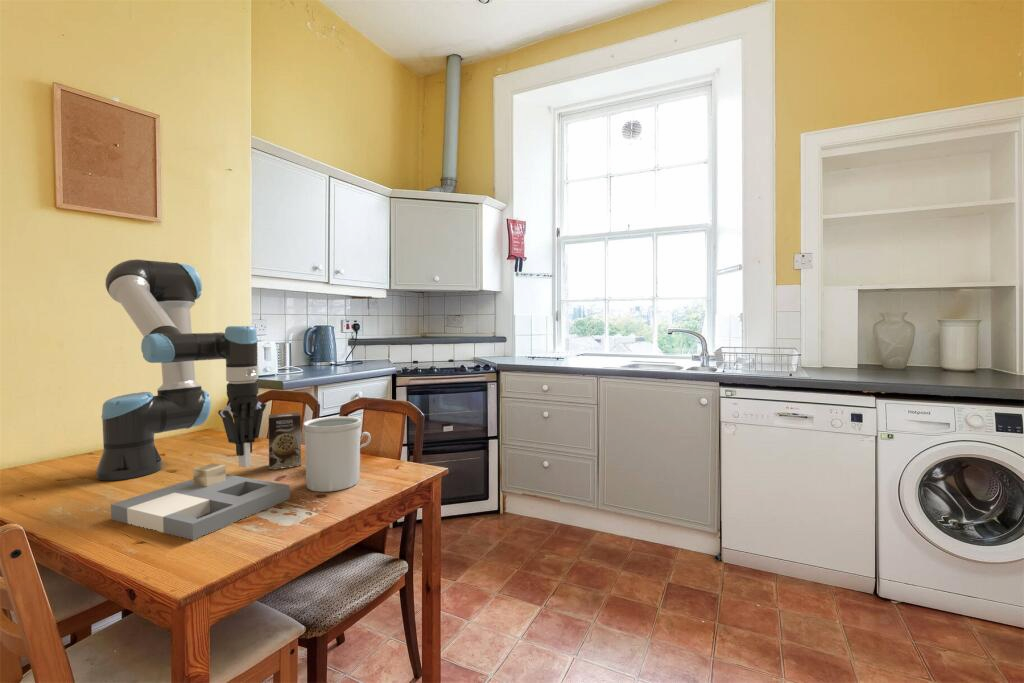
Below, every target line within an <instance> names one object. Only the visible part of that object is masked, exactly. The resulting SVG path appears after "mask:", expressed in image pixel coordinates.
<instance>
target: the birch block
mask: <svg viewBox="0 0 1024 683" xmlns="http://www.w3.org/2000/svg"><path fill="white" fill-rule="evenodd" d="M226 469H227V468H226V465H225V464H218V463H209V464H206V465H203V466H198V467H195V468H193V470H192V471H193V473H192V475H193V476H192V477H193V478H192V479H193V480H194V485H199V486H205V487H208V486H211V485H214V484H217V483H220V482H223V481H226V474H227V473H226Z"/></svg>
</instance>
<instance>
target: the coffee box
mask: <svg viewBox="0 0 1024 683" xmlns="http://www.w3.org/2000/svg"><path fill="white" fill-rule="evenodd" d="M301 422H302V420H301V413H300V412H289V413H286V412H285V413H276V414H275V413H274V414H268V470H269V469H273V470H276V469H275V468H281V467H289V466H297V465H301V466H302V426H301V425H302V423H301ZM297 467H298V466H297ZM289 468H290V467H289ZM281 469H282V468H281Z"/></svg>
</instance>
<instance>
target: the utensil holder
mask: <svg viewBox="0 0 1024 683" xmlns="http://www.w3.org/2000/svg"><path fill="white" fill-rule="evenodd" d="M302 425H303V430H304V446H305V447H304V452H305V478H306V479H305V481H306V482H305V483H306V489H308V490H310V491H313V492H323V493H325V492H327V493H328V492H335V491H341V490H342V491H343V490H345V489H349V488H352V487H353V486H355V485H357V484H358V483H359V481H360V467H361V466H360V465H361V448H360V446H361V439H360V437H361V434H360V431H361V425H362V419H361V418H359V417H356V416H355V417H354V416H326V417H319V418H318V417H317V418H314V419H309V420H306V421H304V422H303V424H302Z"/></svg>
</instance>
